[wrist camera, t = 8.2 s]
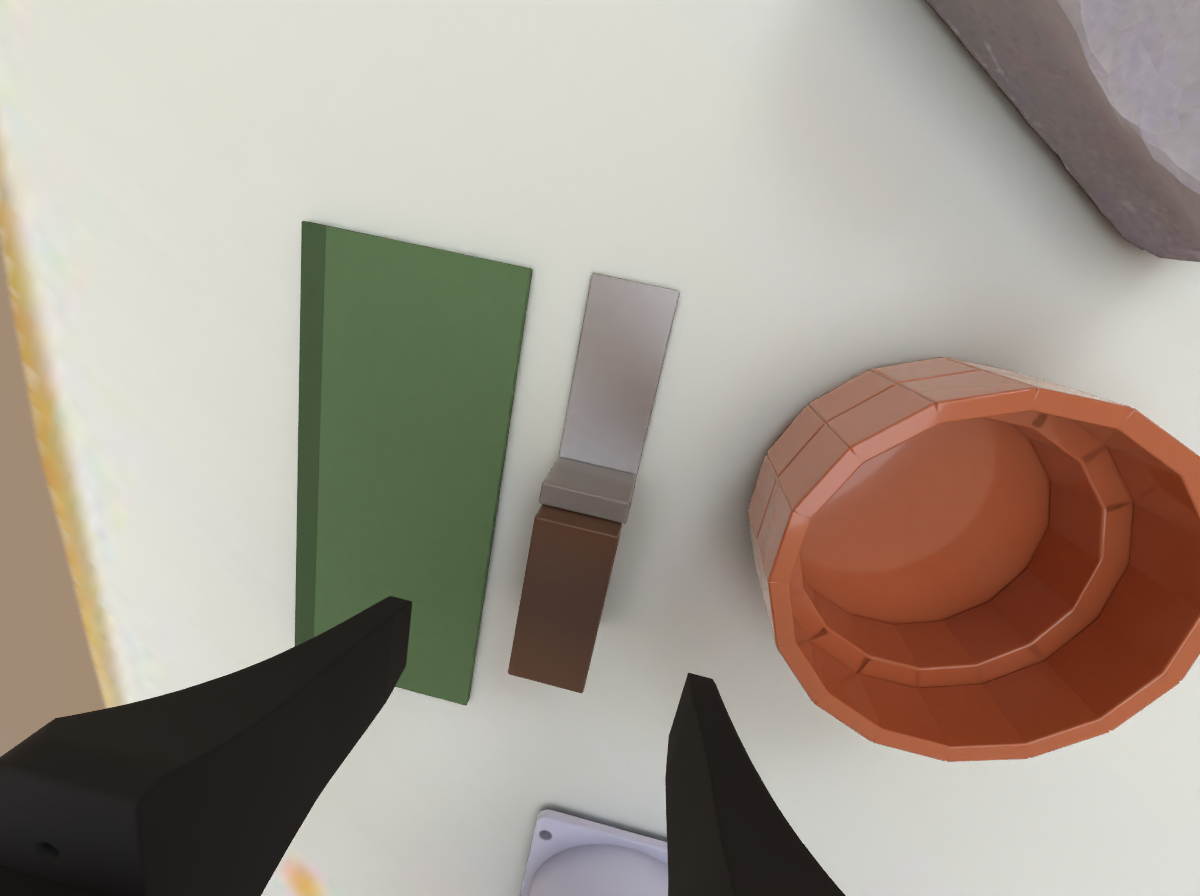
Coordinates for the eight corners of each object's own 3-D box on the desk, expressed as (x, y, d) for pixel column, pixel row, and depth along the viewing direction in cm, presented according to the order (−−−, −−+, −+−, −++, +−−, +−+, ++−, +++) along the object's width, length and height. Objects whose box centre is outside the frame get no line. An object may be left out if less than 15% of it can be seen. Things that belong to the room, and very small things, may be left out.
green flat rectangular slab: (469, 700, 22) (466, 706, 22) (299, 654, 22) (294, 660, 22) (532, 268, 17) (529, 268, 16) (307, 221, 17) (301, 220, 17)
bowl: (998, 672, 18) (1101, 803, 14) (714, 602, 19) (725, 705, 15) (1144, 397, 15) (1338, 451, 11) (800, 325, 16) (847, 346, 12)
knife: (601, 627, 20) (586, 695, 17) (531, 610, 20) (504, 674, 17) (679, 290, 16) (679, 295, 13) (593, 272, 16) (572, 273, 13)
